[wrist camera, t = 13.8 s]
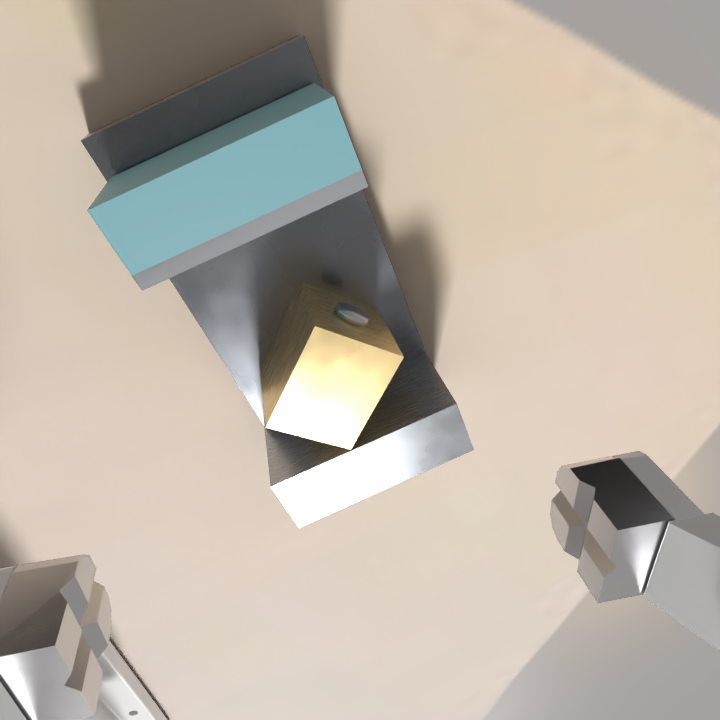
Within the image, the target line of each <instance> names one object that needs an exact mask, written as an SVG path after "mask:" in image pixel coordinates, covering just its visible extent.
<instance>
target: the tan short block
mask: <svg viewBox="0 0 720 720" xmlns="http://www.w3.org/2000/svg"><path fill="white" fill-rule="evenodd" d="M403 358H404V356H403V354H402V352H401V351H400V349H399V347H398V345H397V343H396V341H395V340H394V338H393V336H392V334H391V332H390V330H389V329H388V327H387V325H386V323H385V321H384V319H383V318H382V316H381V314H380V312H379V310H377V309H375V308H372V307H369V306H367V305H364V304H361V303H359V302H356V301H353V300H351V299H348V298H345V297H343V296H340V295H337V294H335V293H332V292H329V291H327V290H324V289H322V288H319V287H316V286H314V285H311V284H308V283H306V282H303V281H301V282H300V284H299V286H298V289H297V291H296V293H295V295H294V297H293V300H292V302H291V304H290V306H289V308H288V310H287V313H286V315H285V317H284V319H283V321H282V323H281V326H280V328H279V330H278V332H277V334H276V337H275V339H274V341H273V343H272V345H271V347H270V350H269V352H268V354H267V356H266V358H265V361H264V363H263V365H262V367H261V369H260V380H261V389H262V398H263V408H264V417H265V426H266V428H269V429H273V430H277V431H281V432H285V433H289V434H293V435H296V436H300V437H304V438H308V439H312V440H316V441H319V442H323V443H327V444H331V445H335V446H339V447H342V448H346V449H350V450H351V449H352V447H353V445H354V444H355V442H356V440H357V438H358V437H359V435H360V433H361V431H362V430H363V428H364V426H365V424H366V423H367V421H368V419H369V417H370V416H371V414H372V412H373V410H374V409H375V407H376V405H377V403H378V402H379V400H380V398H381V396H382V395H383V393H384V391H385V389H386V388H387V386H388V384H389V382H390V381H391V379H392V377H393V375H394V374H395V372H396V370H397V368H398V367H399V365H400V363H401V361H402V360H403Z"/></svg>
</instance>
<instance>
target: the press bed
mask: <svg viewBox="0 0 720 720" xmlns="http://www.w3.org/2000/svg"><path fill="white" fill-rule="evenodd" d="M313 83H315V84H317V85H318V86H320V87H321V88H323V89H324V87H323V85H322V82H321V80H320V77H319V74H318V72H317V69H316V67H315V64H314V61H313V59H312V56H311V54H310V51H309V48H308V46H307V43H306V41H305V38H304V36H297V37H295V38H293V39H290V40H288V41H286V42H284V43H282V44H280V45H278V46H275V47H273V48H271V49H269V50H267V51H265V52H263V53H261V54H258V55H256V56H254V57H252V58H250V59H248V60H246V61H243V62H241V63H239V64H237V65H235V66H233V67H231V68H228V69H226V70H224V71H222V72H220V73H218V74H216V75H213V76H211V77H209V78H207V79H205V80H203V81H201V82H199V83H196V84H194V85H192V86H190V87H188V88H186V89H184V90H181V91H179V92H177V93H175V94H173V95H171V96H169V97H166V98H164V99H162V100H160V101H158V102H156V103H154V104H151V105H149V106H147V107H145V108H143V109H141V110H139V111H137V112H134V113H132V114H130V115H128V116H126V117H124V118H122V119H119V120H117V121H115V122H113V123H111V124H109V125H107V126H104V127H102V128H100V129H98V130H96V131H94V132H92V133H89V134H88V135H87V136H86V137H84V138H83V139H82V140H81V142H82V143H83V145H84V146H85V148H86V149H87V151H88V152H89V154H90V156H91V157H92V159H93V160H94V162H95V163H96V165H97V166H98V168H99V170H100V171H101V173H102V174H103V176H104V177H105V179H106V180H107V182H108V181H109V180H110V178H111V177H113V176H115V175H117V174H119V173H121V172H123V171H126V170H128V169H130V168H132V167H134V166H136V165H139V164H141V163H143V162H145V161H147V160H149V159H151V158H154V157H156V156H158V155H160V154H162V153H164V152H166V151H169V150H171V149H173V148H175V147H177V146H179V145H182V144H184V143H186V142H188V141H190V140H192V139H194V138H197V137H199V136H201V135H203V134H205V133H207V132H209V131H212V130H214V129H216V128H218V127H220V126H222V125H224V124H227V123H229V122H231V121H233V120H235V119H237V118H240V117H242V116H244V115H246V114H248V113H250V112H252V111H255V110H257V109H259V108H261V107H263V106H265V105H267V104H270V103H272V102H274V101H276V100H278V99H280V98H283V97H285V96H287V95H289V94H291V93H293V92H295V91H298V90H300V89H302V88H304V87H306V86H308V85H310V84H313ZM170 280H171V282H172V283H173V285H174V286H175V288H176V289H177V291H178V292H179V294H180V296H181V297H182V299H183V300H184V302H185V303H186V305H187V306H188V308H189V310H190V311H191V313H192V314H193V316H194V317H195V319H196V320H197V322H198V324H199V325H200V327H201V328H202V330H203V331H204V333H205V334H206V336H207V338H208V339H209V341H210V342H211V344H212V345H213V347H214V348H215V350H216V352H217V353H218V355H219V356H220V358H221V359H222V361H223V362H224V364H225V366H226V367H227V369H228V370H229V372H230V373H231V375H232V376H233V378H234V380H235V381H236V383H237V384H238V386H239V387H240V389H241V390H242V392H243V394H244V395H245V397H246V398H247V400H248V401H249V403H250V404H251V406H252V408H253V409H254V411H255V412H256V414H257V415H258V417H259V418H260V420H261V422H262V423H263V425H264V426H265V417H264V408H263V398H262V389H261V380H260V369H261V367H262V365H263V363H264V361H265V358H266V356H267V354H268V352H269V350H270V347H271V345H272V343H273V341H274V339H275V337H276V334H277V332H278V330H279V328H280V326H281V323H282V321H283V319H284V317H285V315H286V313H287V310H288V308H289V306H290V304H291V302H292V300H293V297H294V295H295V293H296V291H297V289H298V286H299V284H300V282H301V281H303V282H306V283H308V284H311V285H314V286H316V287H319V288H322V289H324V290H327V291H329V292H332V293H335V294H337V295H340V296H343V297H345V298H348V299H351V300H353V301H356V302H359V303H361V304H364V305H367V306H369V307H372V308H375V309H377V310H379V312H380V314H381V316H382V318H383V319H384V321H385V323H386V325H387V327H388V329H389V330H390V332H391V334H392V336H393V338H394V340H395V341H396V343H397V345H398V347H399V349H400V351H401V352H402V354H403V356H404V358H403V360H402V361H401V363H400V365H399V367H398V368H397V370H396V372H395V374H394V375H393V377H392V379H391V381H390V382H389V384H388V386H387V388H386V389H385V391H384V393H383V395H382V396H381V398H380V400H379V402H378V403H377V405H376V407H375V409H374V410H373V412H372V414H371V416H370V417H369V419H368V421H367V423H366V424H365V426H364V428H363V430H362V431H361V433H360V435H359V437H358V438H357V440H356V442H355V444H354V445H353V447H352V449H351V450H350V449H346V448H342V447H339V446H335V445H331V444H327V443H323V442H319V441H316V440H312V439H308V438H304V437H300V436H296V435H293V434H289V433H285V432H281V431H277V430H273V429H269V428H266V426H265V436H266V445H267V455H268V464H269V474H270V483H271V488H272V489H273V491H274V492H275V494H276V495H277V497H278V498H279V499H280V501H281V502H282V504H283V505H284V507H285V508H286V510H287V511H288V512H289V514H290V515H291V517H292V518H293V520H294V521H295V523H296V524H297V525H298V527H299V528H300V527H302V526H304V525H306V524H309V523H311V522H313V521H315V520H318V519H320V518H322V517H324V516H327V515H329V514H331V513H333V512H336V511H338V510H340V509H342V508H345V507H347V506H349V505H351V504H353V503H356V502H358V501H360V500H362V499H365V498H367V497H369V496H371V495H374V494H376V493H378V492H380V491H383V490H385V489H387V488H389V487H392V486H394V485H396V484H398V483H401V482H403V481H405V480H407V479H410V478H412V477H414V476H416V475H419V474H421V473H423V472H425V471H428V470H430V469H432V468H434V467H436V466H439V465H441V464H443V463H445V462H448V461H450V460H452V459H454V458H457V457H459V456H461V455H463V454H466V453H468V452H470V451H472V450H474V449H473V446H472V444H471V441H470V438H469V435H468V433H467V430H466V427H465V425H464V422H463V419H462V416H461V414H460V411H459V408H458V406H457V403H456V402H455V400H454V398H453V397H452V395H451V394H450V392H449V390H448V389H447V387H446V385H445V384H444V382H443V381H442V379H441V377H440V376H439V374H438V372H437V371H436V369H435V368H434V366H433V364H432V363H431V361H430V359H429V358H428V356H427V355H426V353H425V350H424V348H423V345H422V342H421V340H420V337H419V335H418V332H417V329H416V327H415V324H414V322H413V319H412V316H411V314H410V311H409V308H408V306H407V303H406V301H405V298H404V295H403V293H402V290H401V288H400V285H399V282H398V280H397V277H396V275H395V272H394V269H393V267H392V264H391V262H390V259H389V256H388V254H387V251H386V249H385V246H384V243H383V241H382V238H381V236H380V233H379V230H378V228H377V225H376V223H375V220H374V217H373V215H372V212H371V210H370V207H369V204H368V202H367V199H366V197H365V194H364V191H363V189H362V190H360V191H358V192H356V193H354V194H351V195H349V196H347V197H345V198H343V199H340V200H338V201H336V202H334V203H332V204H330V205H327V206H325V207H323V208H321V209H319V210H317V211H314V212H312V213H310V214H308V215H306V216H303V217H301V218H299V219H297V220H295V221H293V222H290V223H288V224H286V225H284V226H282V227H280V228H277V229H275V230H273V231H271V232H269V233H267V234H264V235H262V236H260V237H258V238H256V239H253V240H251V241H249V242H247V243H245V244H243V245H240V246H238V247H236V248H234V249H232V250H230V251H227V252H225V253H223V254H221V255H219V256H216V257H214V258H212V259H210V260H208V261H206V262H203V263H201V264H199V265H197V266H195V267H193V268H190V269H188V270H186V271H184V272H182V273H179V274H177V275H175V276H173V277H171V278H170Z"/></svg>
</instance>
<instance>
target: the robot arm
mask: <svg viewBox="0 0 720 720" xmlns="http://www.w3.org/2000/svg"><path fill="white" fill-rule="evenodd" d="M555 483H556V484H557V486H558V487H559V488H560V492H559V493H558V494H557V495H556V496H555V497H554V498H553V499H552V503H551V511H550V516H551V521H552V527H553V530H554V532H555V535H556V537H557V540H558V541H559V543H560V545H561V546H562V548H563V550H564V551H565V552H567V553H569V554H570V555H572V556H574V557H576V558H577V559H579V562H578V570H577V572H578V573H579V575H580V576H581V578H582V579H583V581H584V583H585V584H586V586H587V587H588V589H589V590H590V592H591V593H592V595H593V596H594V598H595V600H596V601H597V603H601V602H606V601H612V600H617V599H622V598H627V597H632V596H638V595H643V594H644V596H643V597H644V598H645V599H647V600H648V601H649V602H651V603H652V604H654V605H655V606H657V607H658V608H659V609H661V610H663V611H664V612H665V613H667V614H668V615H669V616H671V617H672V618H674V619H675V620H676V621H678V622H679V623H681V624H682V625H684V626H685V627H686V628H688V629H689V630H691V631H692V632H693V633H695V634H696V635H698V636H699V637H701V638H702V639H703V640H705V641H706V642H708V643H709V644H710V645H712V646H713V647H715V648H716V649H718V650H719V651H720V516H718V515H716V514H714V513H710V514H704V513H703V512H702V511H701V510H700V509H699V508H698V507H697V506H696V505H695V504H694V503H693V502H692V501H691V500H690V499H689V498H688V497H687V496H686V495H685V494H684V493H683V492H682V491H681V490H680V489H679V488H678V486H677V485H676V484H675V483H674V482H673V481H672V480H671V479H670V478H669V477H668V476H667V475H666V474H665V473H664V472H663V471H662V470H661V469H660V468H659V467H658V466H657V465H656V464H655V463H654V462H653V461H652V460H651V459H650V458H649V457H648V456H647V455H646V454H644V453H642V452H640V451H636V452H631V453H626V454H621V455H615V456H612V457H604V458H599V459H594V460H589V461H584V462H579V463H574V464H569V465H564V466H561V467H560V469H559V470H558V471H557V475H556V480H555ZM95 572H96V567H95V565H94V563H93V561H92V559H91V557H90V555H78V556H71V557H65V558H59V559H53V560H46V561H40V562H34V563H28V564H21V565H18V566H12V567H6V568H0V720H167V718H166V717H165V716H164V714H163V713H162V711H161V710H160V709H159V707H158V706H157V705H156V703H155V702H154V701H153V699H152V698H151V696H150V695H149V694H148V692H147V691H146V690H145V688H144V687H143V686H142V684H141V683H140V681H139V680H138V679H137V677H136V676H135V675H134V673H133V672H132V671H131V669H130V668H129V666H128V665H127V664H126V662H125V661H124V660H123V658H122V657H121V656H120V654H119V653H118V651H117V650H116V649H115V647H114V646H113V645H112V643H111V642H110V641H109V639H110V633H111V606H110V601H109V597H108V594H107V592H106V589H105V587H104V586H102V585H100V584H99V583H97V582H95V581H94V576H95Z"/></svg>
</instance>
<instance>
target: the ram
mask: <svg viewBox="0 0 720 720" xmlns="http://www.w3.org/2000/svg"><path fill="white" fill-rule="evenodd" d="M367 187H368V184H367V182H366V179H365V176H364V174H363V171H362V168H361V166H360V163H359V160H358V158H357V155H356V153H355V150H354V147H353V145H352V142H351V139H350V137H349V134H348V131H347V129H346V126H345V123H344V121H343V118H342V115H341V113H340V110H339V107H338V105H337V102H336V100H335V97H334V95H332V94H330V93H329V92H327V91H326V90H324V89H323V88H321V87H320V86H318V85H317V84H315V83H313V84H310V85H308V86H306V87H304V88H302V89H300V90H298V91H295V92H293V93H291V94H289V95H287V96H285V97H283V98H280V99H278V100H276V101H274V102H272V103H270V104H267V105H265V106H263V107H261V108H259V109H257V110H255V111H252V112H250V113H248V114H246V115H244V116H242V117H240V118H237V119H235V120H233V121H231V122H229V123H227V124H224V125H222V126H220V127H218V128H216V129H214V130H212V131H209V132H207V133H205V134H203V135H201V136H199V137H197V138H194V139H192V140H190V141H188V142H186V143H184V144H182V145H179V146H177V147H175V148H173V149H171V150H169V151H166V152H164V153H162V154H160V155H158V156H156V157H154V158H151V159H149V160H147V161H145V162H143V163H141V164H139V165H136V166H134V167H132V168H130V169H128V170H126V171H123V172H121V173H119V174H117V175H115V176H113V177H111V178H110V180H109V181H108V182H107V184H106V185H105V187H104V188H103V189H102V191H101V192H100V193H99V195H98V196H97V198H96V199H95V200H94V202H93V203H92V205H91V206H90V207H89V209H88V210H87V211H88V212H89V214H90V215H91V217H92V218H93V220H94V221H95V223H96V224H97V225H98V227H99V228H100V230H101V231H102V233H103V234H104V236H105V237H106V239H107V240H108V242H109V243H110V244H111V246H112V247H113V249H114V250H115V252H116V253H117V255H118V256H119V258H120V259H121V261H122V262H123V263H124V265H125V266H126V268H127V269H128V271H129V272H130V274H131V275H132V277H133V278H134V280H135V281H136V283H137V284H138V285H139V287H140V288H141V290H145V289H147V288H149V287H151V286H153V285H156V284H158V283H160V282H162V281H164V280H166V279H169V278H171V277H173V276H175V275H177V274H179V273H182V272H184V271H186V270H188V269H190V268H193V267H195V266H197V265H199V264H201V263H203V262H206V261H208V260H210V259H212V258H214V257H216V256H219V255H221V254H223V253H225V252H227V251H230V250H232V249H234V248H236V247H238V246H240V245H243V244H245V243H247V242H249V241H251V240H253V239H256V238H258V237H260V236H262V235H264V234H267V233H269V232H271V231H273V230H275V229H277V228H280V227H282V226H284V225H286V224H288V223H290V222H293V221H295V220H297V219H299V218H301V217H303V216H306V215H308V214H310V213H312V212H314V211H317V210H319V209H321V208H323V207H325V206H327V205H330V204H332V203H334V202H336V201H338V200H340V199H343V198H345V197H347V196H349V195H351V194H354V193H356V192H358V191H360V190H362V189H364V188H367Z"/></svg>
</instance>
